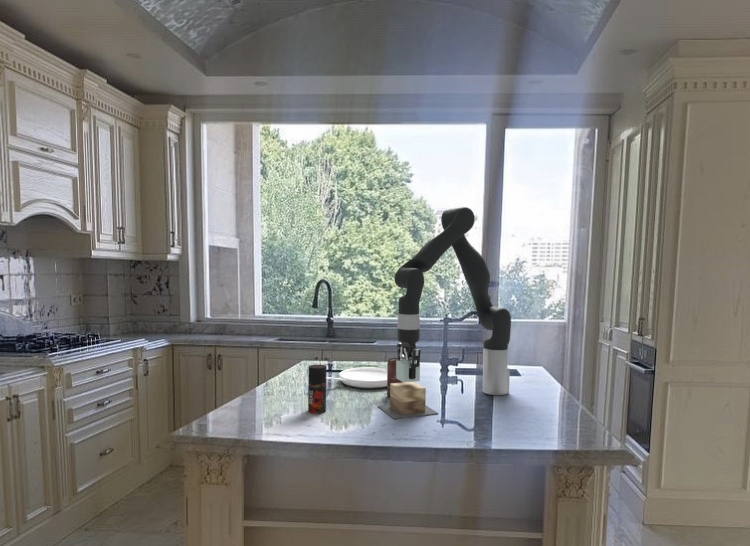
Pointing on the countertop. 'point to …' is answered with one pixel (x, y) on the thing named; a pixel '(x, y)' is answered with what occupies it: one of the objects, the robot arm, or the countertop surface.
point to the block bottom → (407, 406)
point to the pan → (364, 377)
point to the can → (391, 374)
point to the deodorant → (317, 389)
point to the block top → (407, 391)
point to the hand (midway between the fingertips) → (407, 376)
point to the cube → (405, 371)
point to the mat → (396, 415)
